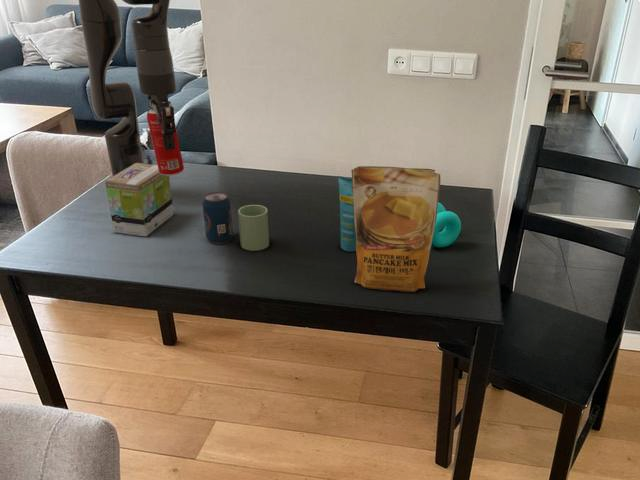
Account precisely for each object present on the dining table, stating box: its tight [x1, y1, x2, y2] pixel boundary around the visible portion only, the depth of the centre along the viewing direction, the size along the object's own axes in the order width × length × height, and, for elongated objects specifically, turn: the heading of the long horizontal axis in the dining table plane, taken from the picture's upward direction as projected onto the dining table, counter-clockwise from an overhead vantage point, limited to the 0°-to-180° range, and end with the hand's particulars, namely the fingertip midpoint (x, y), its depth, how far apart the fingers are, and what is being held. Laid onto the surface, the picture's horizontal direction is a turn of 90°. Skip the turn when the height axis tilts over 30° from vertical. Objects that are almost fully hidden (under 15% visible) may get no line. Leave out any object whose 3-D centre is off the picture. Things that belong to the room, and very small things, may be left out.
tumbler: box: [237, 204, 270, 252], centre depth 149 cm, size 7×7×10 cm
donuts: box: [431, 201, 462, 249], centre depth 154 cm, size 10×10×10 cm
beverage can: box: [146, 107, 185, 177], centre depth 135 cm, size 6×6×15 cm
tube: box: [337, 175, 356, 252], centre depth 147 cm, size 7×5×19 cm, turn 72°
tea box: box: [104, 163, 174, 237], centre depth 156 cm, size 15×10×15 cm, turn 168°
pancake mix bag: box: [350, 165, 441, 293], centre depth 130 cm, size 7×19×28 cm, turn 84°
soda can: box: [201, 191, 234, 245], centre depth 151 cm, size 7×7×12 cm
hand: (166, 145), depth 135 cm, fingers closed on beverage can, 5 cm apart
